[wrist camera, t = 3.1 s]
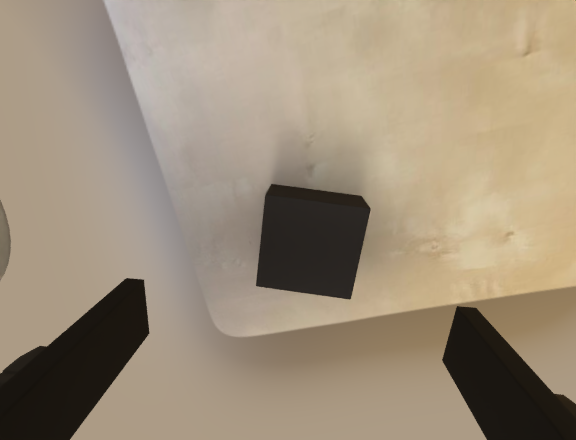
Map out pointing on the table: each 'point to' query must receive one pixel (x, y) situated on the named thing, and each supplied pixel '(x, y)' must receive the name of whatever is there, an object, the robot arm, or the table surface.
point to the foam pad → (311, 241)
